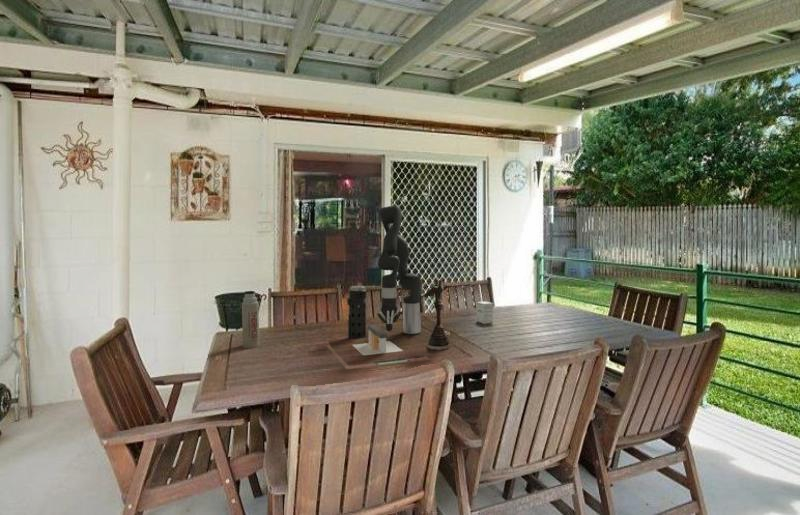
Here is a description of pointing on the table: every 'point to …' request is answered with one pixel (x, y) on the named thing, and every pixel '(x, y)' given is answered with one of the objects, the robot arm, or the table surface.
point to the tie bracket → (383, 348)
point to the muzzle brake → (357, 312)
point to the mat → (391, 362)
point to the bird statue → (438, 335)
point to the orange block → (374, 341)
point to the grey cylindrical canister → (484, 312)
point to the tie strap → (377, 331)
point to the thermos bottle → (250, 320)
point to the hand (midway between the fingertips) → (389, 331)
